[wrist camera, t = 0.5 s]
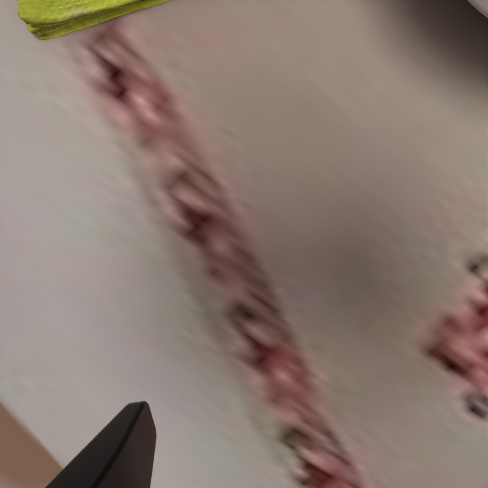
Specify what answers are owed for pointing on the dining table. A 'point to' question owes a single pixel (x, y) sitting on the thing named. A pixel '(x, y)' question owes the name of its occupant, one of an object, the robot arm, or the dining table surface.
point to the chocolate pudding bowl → (480, 6)
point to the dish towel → (73, 14)
